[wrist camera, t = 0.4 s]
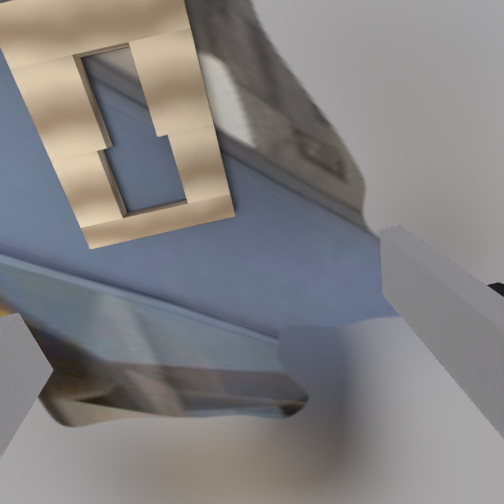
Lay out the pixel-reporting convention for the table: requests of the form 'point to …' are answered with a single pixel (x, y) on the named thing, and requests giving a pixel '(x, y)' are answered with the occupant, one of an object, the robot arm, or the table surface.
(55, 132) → the keyhole board
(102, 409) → the table surface
